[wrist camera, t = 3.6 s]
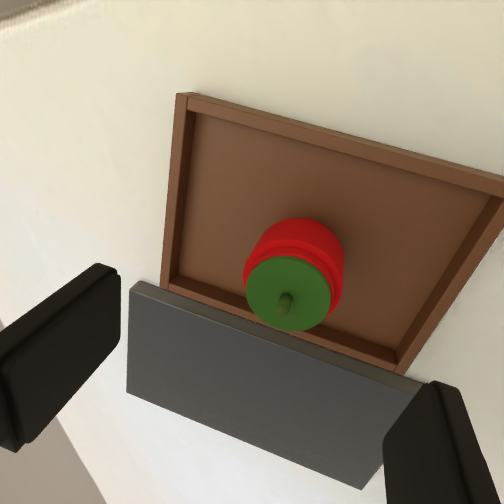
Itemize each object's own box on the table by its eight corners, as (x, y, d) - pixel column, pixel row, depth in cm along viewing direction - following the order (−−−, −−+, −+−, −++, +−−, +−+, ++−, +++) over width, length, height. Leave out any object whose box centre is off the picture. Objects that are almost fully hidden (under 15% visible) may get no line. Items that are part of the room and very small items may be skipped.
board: (428, 385, 20) (432, 401, 19) (361, 474, 26) (361, 490, 25) (138, 280, 23) (128, 289, 22) (134, 381, 28) (126, 392, 27)
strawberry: (357, 216, 16) (359, 286, 11) (329, 283, 18) (318, 371, 13) (277, 192, 17) (238, 247, 11) (259, 260, 19) (219, 334, 13)
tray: (511, 178, 14) (530, 189, 13) (399, 354, 20) (403, 376, 18) (191, 91, 16) (175, 92, 15) (171, 273, 22) (158, 287, 20)
